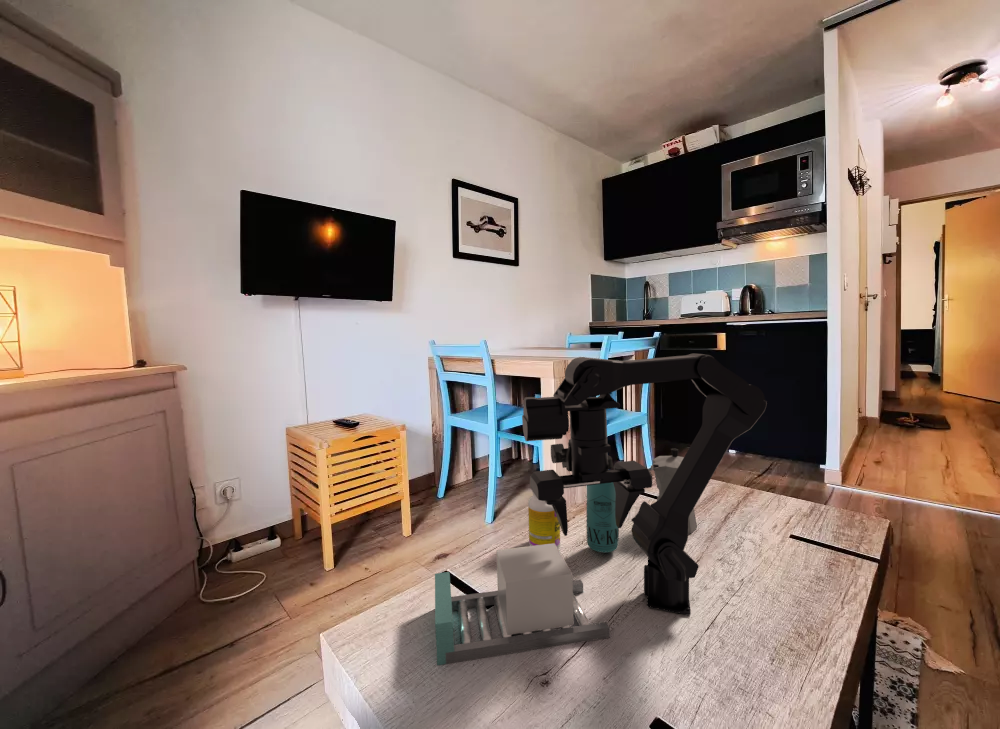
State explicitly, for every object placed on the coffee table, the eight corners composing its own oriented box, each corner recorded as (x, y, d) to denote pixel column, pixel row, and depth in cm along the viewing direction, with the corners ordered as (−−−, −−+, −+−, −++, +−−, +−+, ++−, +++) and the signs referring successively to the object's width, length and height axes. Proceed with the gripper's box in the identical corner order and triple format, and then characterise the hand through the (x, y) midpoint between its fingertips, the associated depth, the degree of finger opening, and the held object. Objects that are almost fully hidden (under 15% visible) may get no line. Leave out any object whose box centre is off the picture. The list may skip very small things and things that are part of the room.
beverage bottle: (582, 544, 87) (580, 452, 85) (613, 542, 87) (611, 450, 86) (592, 561, 80) (590, 462, 79) (624, 559, 81) (623, 460, 79)
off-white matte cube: (555, 588, 70) (554, 543, 69) (573, 625, 61) (572, 573, 60) (497, 596, 68) (496, 550, 68) (507, 635, 59) (505, 582, 59)
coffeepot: (668, 541, 87) (668, 458, 85) (637, 522, 96) (637, 447, 94) (720, 526, 93) (721, 448, 91) (687, 509, 101) (687, 438, 100)
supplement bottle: (559, 554, 83) (558, 493, 82) (527, 552, 84) (525, 491, 83) (561, 538, 90) (559, 481, 89) (531, 536, 91) (529, 480, 90)
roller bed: (436, 608, 68) (434, 573, 68) (580, 588, 72) (580, 555, 72) (437, 665, 56) (435, 624, 56) (609, 637, 60) (609, 599, 60)
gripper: (620, 420, 74) (622, 503, 76) (520, 430, 71) (524, 516, 73) (653, 435, 64) (655, 532, 65) (536, 447, 60) (541, 548, 62)
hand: (592, 530), depth 66 cm, fingers open, 9 cm apart
